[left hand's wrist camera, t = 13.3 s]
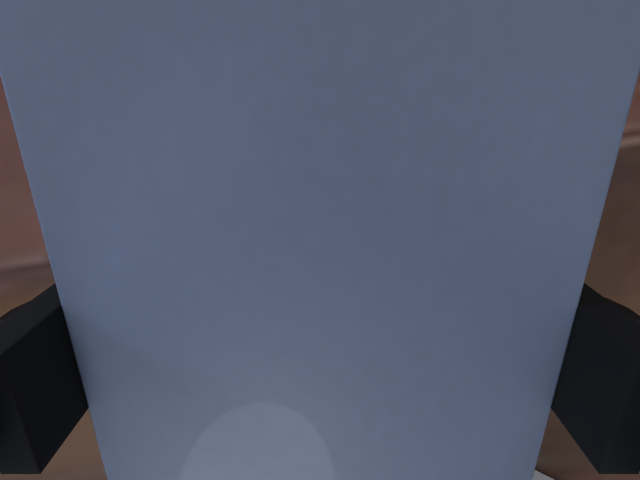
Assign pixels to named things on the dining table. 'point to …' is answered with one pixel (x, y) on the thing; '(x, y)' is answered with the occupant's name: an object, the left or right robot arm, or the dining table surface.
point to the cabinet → (319, 222)
